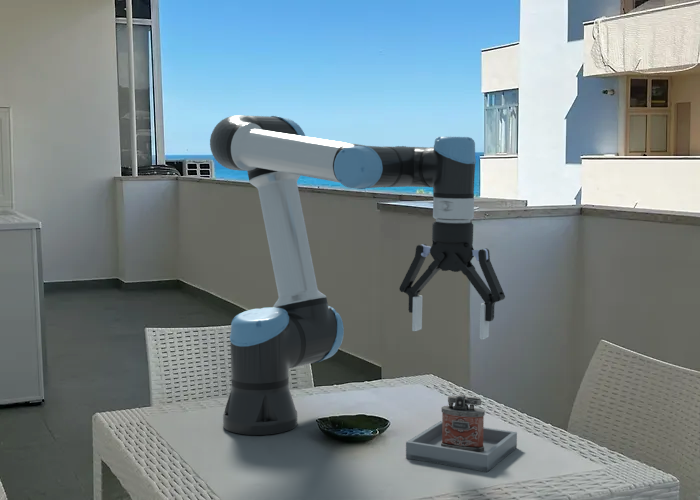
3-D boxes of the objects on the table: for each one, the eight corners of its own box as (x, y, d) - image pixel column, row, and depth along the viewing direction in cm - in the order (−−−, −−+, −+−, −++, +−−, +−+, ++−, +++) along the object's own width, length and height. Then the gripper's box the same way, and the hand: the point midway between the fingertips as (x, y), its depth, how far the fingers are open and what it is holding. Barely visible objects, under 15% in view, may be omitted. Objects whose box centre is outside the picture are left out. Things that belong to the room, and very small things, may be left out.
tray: (406, 458, 169) (406, 442, 168) (440, 435, 182) (440, 421, 182) (487, 472, 161) (487, 455, 161) (516, 447, 175) (516, 432, 175)
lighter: (438, 448, 172) (439, 395, 171) (444, 443, 175) (444, 391, 174) (481, 453, 169) (482, 399, 168) (486, 448, 172) (486, 395, 171)
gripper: (383, 218, 174) (381, 329, 176) (510, 225, 162) (506, 345, 164) (401, 216, 181) (399, 323, 183) (524, 223, 168) (520, 338, 171)
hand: (449, 334), depth 174 cm, fingers open, 13 cm apart
